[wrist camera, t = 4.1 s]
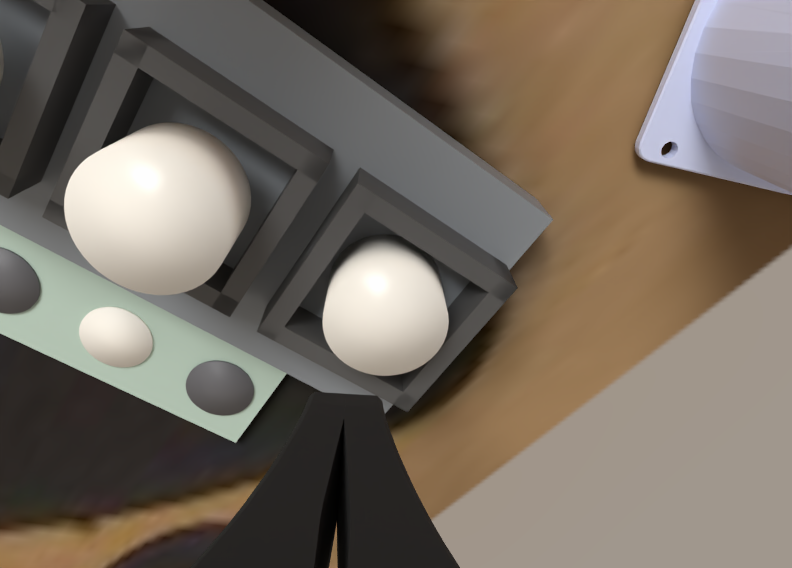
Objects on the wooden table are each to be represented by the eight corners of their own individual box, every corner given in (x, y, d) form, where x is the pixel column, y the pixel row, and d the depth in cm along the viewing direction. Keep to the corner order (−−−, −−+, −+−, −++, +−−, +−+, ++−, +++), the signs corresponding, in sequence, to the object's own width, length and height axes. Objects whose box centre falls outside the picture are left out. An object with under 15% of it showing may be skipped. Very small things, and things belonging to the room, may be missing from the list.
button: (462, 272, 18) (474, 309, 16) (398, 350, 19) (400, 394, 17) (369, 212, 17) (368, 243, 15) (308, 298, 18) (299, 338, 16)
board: (536, 199, 19) (569, 239, 16) (378, 387, 22) (378, 452, 19) (-46, -224, 13) (-180, -296, 10) (-135, 111, 17) (-255, 136, 14)
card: (290, 364, 22) (288, 372, 21) (237, 436, 23) (235, 444, 23) (-27, 197, 18) (-37, 202, 18) (-63, 295, 20) (-73, 301, 19)
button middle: (276, 174, 14) (257, 204, 12) (213, 276, 16) (187, 320, 14) (145, 92, 13) (100, 109, 11) (90, 208, 15) (41, 244, 13)
